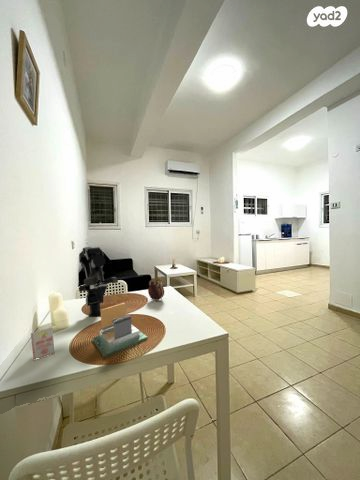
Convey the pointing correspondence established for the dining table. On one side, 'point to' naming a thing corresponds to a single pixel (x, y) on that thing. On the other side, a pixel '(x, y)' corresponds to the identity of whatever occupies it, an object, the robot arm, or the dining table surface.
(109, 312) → the tan square pad
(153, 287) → the brown rounded piece
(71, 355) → the dining table surface
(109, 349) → the grey and green stand
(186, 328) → the dining table surface
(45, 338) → the pink printed box
